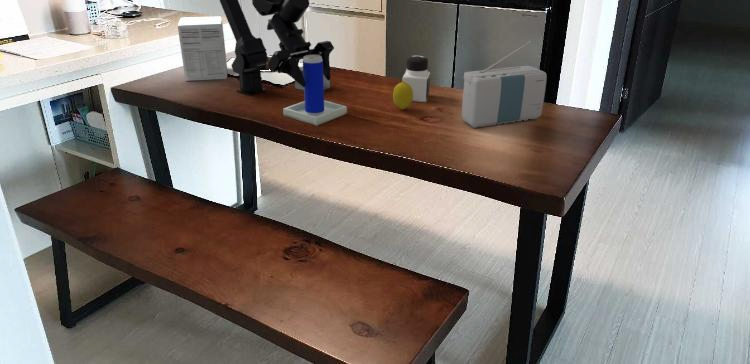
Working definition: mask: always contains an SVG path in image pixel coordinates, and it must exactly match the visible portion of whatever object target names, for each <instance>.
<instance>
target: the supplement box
mask: <svg viewBox="0 0 750 364" xmlns="http://www.w3.org/2000/svg"><path fill="white" fill-rule="evenodd" d="M223 24H224V23H223V18H222V16H219V15H218V16H217V15H216V16H193V17H192V16H191V17H190V16H188V17H180V19H179V21H178V24H177V30H178V39H179V43H180V51H181V52H180V53H181V58H182V65H183V72H184V73H183V74H184V79H185V82H189V81H190V82H191V81H207V80H208V81H210V80H211V81H212V80H226V79H228V64H227V56H226V55H227V54H226V47H225V44H226V43H225V34H224V33H225V32H224V26H223Z"/></svg>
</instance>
